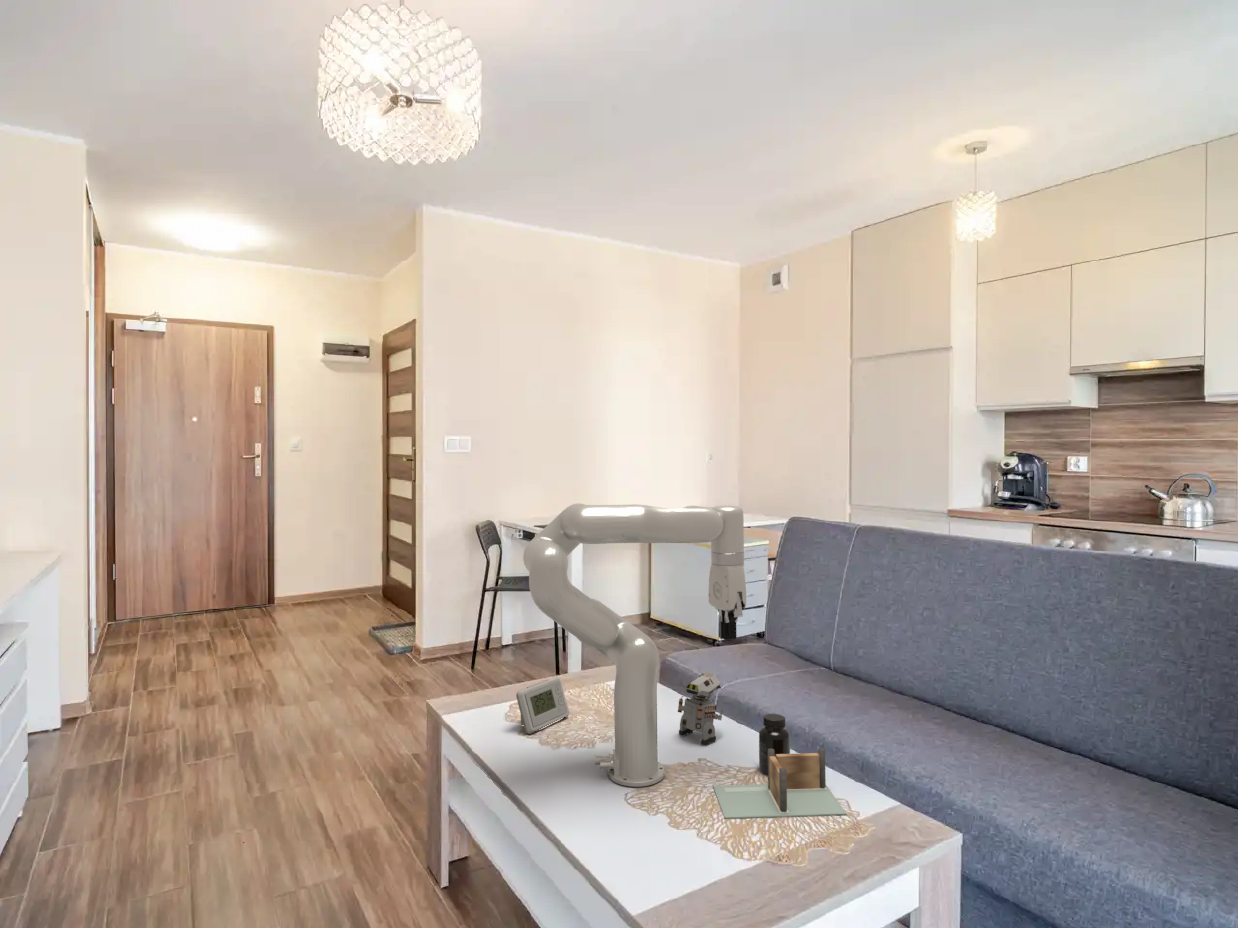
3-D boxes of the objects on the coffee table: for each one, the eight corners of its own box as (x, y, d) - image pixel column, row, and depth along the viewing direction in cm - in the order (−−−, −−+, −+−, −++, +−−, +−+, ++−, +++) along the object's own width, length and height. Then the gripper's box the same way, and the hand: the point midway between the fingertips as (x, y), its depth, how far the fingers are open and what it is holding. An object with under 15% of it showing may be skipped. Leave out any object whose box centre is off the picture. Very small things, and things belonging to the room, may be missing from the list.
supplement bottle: (791, 778, 151) (790, 723, 150) (759, 776, 152) (758, 721, 152) (789, 765, 157) (789, 712, 157) (759, 762, 159) (758, 710, 159)
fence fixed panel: (777, 789, 145) (777, 751, 145) (775, 786, 146) (775, 749, 146) (826, 788, 145) (826, 750, 145) (824, 785, 147) (823, 747, 147)
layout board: (724, 818, 134) (724, 817, 134) (713, 787, 147) (713, 785, 147) (846, 814, 135) (846, 813, 135) (824, 783, 148) (824, 782, 148)
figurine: (731, 735, 174) (731, 676, 174) (700, 748, 167) (699, 686, 167) (705, 725, 181) (704, 668, 181) (673, 737, 174) (673, 677, 174)
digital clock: (526, 737, 175) (526, 695, 175) (507, 727, 182) (507, 687, 182) (577, 720, 186) (576, 681, 186) (557, 711, 193) (556, 673, 193)
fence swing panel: (787, 811, 136) (787, 770, 136) (780, 811, 136) (780, 770, 136) (773, 785, 146) (773, 748, 146) (767, 786, 146) (766, 748, 146)
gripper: (698, 556, 165) (699, 632, 165) (729, 564, 151) (731, 648, 151) (725, 554, 168) (726, 629, 168) (759, 562, 154) (760, 644, 154)
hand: (728, 638), depth 160 cm, fingers closed
